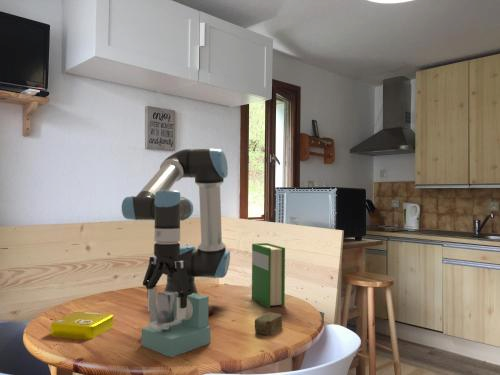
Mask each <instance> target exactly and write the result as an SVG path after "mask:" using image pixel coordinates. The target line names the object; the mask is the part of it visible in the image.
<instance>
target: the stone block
mask: <svg viewBox="0 0 500 375" xmlns="http://www.w3.org/2000/svg"><path fill="white" fill-rule="evenodd" d="M282 327H283V315H282V314H281V313H278V312H276V313H275V312H271V311H268V312H265V313H263V314H262V315H260V316H258V317H257V318H255V320H254V332H255V333H256V334H258V335H263V336H271V335H272V334H275V332H277V331H278V330H280V329H282Z"/></svg>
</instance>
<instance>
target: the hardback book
mask: <svg viewBox="0 0 500 375" xmlns="http://www.w3.org/2000/svg"><path fill="white" fill-rule="evenodd" d="M251 244H252V245H251V298H252V299H253V300H254V301H256V302H257V301H258V303H259V304H261V305H263V306H264V307H266V308H268V309H270V308H271V306H272V307H273V306H280V307H282V306H284V307H285V306H286V305H285V302H286V301H285V300H286V299H285V298H286V297H285V296H286V295H285V293H286V292H285V290H286V287H285V285H286V283H285V282H286V277H285V276H286V274H285V273H286V247H284V246H280V245H276V244H273V243H269V242H263V243H262V242H261V243H251Z"/></svg>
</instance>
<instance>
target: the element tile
mask: <svg viewBox="0 0 500 375" xmlns="http://www.w3.org/2000/svg"><path fill="white" fill-rule="evenodd" d="M113 327H114V314H112V313H100V312H99V313H98V312H85V311H75V312H74V313H71V314H69V315H66V316H63V317H61V318H59V319H57V320H55V321H53V322H51V323H50V336H51V337H53V336H55V337H54V338H63V339H64V338H65V339H74V340H75V339H76V340H93V339H95V338H96V337H98V336H100V335H102V334H103V333H105V332H107V331H109V330H110V329H112V328H113Z"/></svg>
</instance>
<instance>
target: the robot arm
mask: <svg viewBox="0 0 500 375" xmlns="http://www.w3.org/2000/svg"><path fill="white" fill-rule="evenodd" d="M228 168H229V167H228V161H227V158H226V153H225V152H224V151H223V150H222V149H219V148H192V149H191V148H186V149H182V150H178V151H176V152H174V153H172V154H171V155H169V156H167V157H166V158H165V159H164V160H163V161H162V162H161V164H160V165H159V169H158V171H156V173H155V174H154V175H153V177H152V178H151V179H150V180H149V181H148V182H147V184H145V186H144V187H143V188H142V189H141V190H140V192H138V194H137V195H136V196H133V195H132V196H126V197H124V199H123V200H122V203H121V212H122V213H121V214H122V216H123V218H124V219H126V220H134V221H154V227H153V228H154V238H153V240H154V242H155V243H154V244H153V255H154V256H150V257H149V260H148V266H147V269H146V273H145V275H144V279H143V281H142V285H143V287H146V288H145V289H147V297H146V298H147V312H150V311H153V310H156V305H157V294H158V293H157V290H158V289H157V284H158V282H159V281H160V279H161V278H162V276H163V274H164V275H165V276H166V285H165V289H164V291H163V292H165V291H170V292H178V296H177V320H182V319H185V318H186V307H187V296H188V295H191V294H192V293H196V294H199V293H198V290H197V286H196V284H195V278H209V279H210V278H211V279H212V278H213V279H221V278H223V279H224V277H225V276H227V274H228V271H229V268H230V267H229V266H230V260H231V251H230V250H229V249H226V246H227V245H226V244H225V243H224V242H223V237H222V235H223V234H222V210H221V208H222V207H221V202H222V201H221V185H222V184H223V183H224V180H225V178H227V176H228ZM184 178H194V183H195V184H196V185H197V186H198V194H199V195H198V196H199V213H200V215H199V218H200V239H201V240H200V241H201V242H200V243H199V245H197V249H196V246H195V245H194V244H193V245H192V244H191V245H182V246H181V245H180V243H179V242H180V241H181V221H185V220H187V219H189V218H190V217H191V216H192V215H193V213H194V204H193V202H192V201H191V200H190V199H189V198H188V197H185V196H181V192H180V191H179V190H171V189H172V187H173V186H174V184H175V183H176V182H179V181H181V179H184Z"/></svg>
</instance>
